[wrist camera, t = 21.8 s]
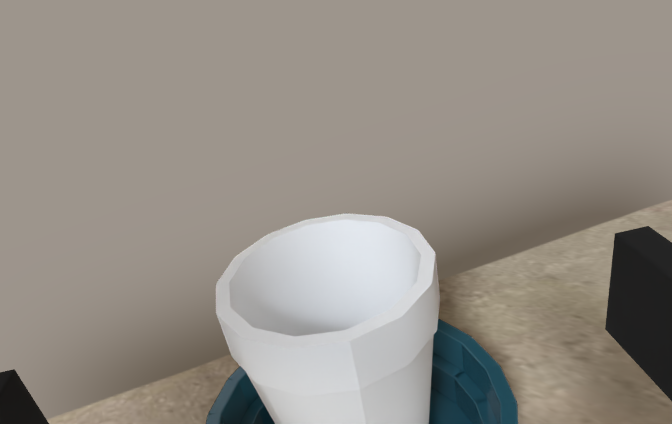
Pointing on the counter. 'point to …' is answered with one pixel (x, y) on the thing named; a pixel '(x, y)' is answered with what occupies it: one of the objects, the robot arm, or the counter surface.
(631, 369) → the counter surface
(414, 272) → the foam cup
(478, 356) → the bowl
